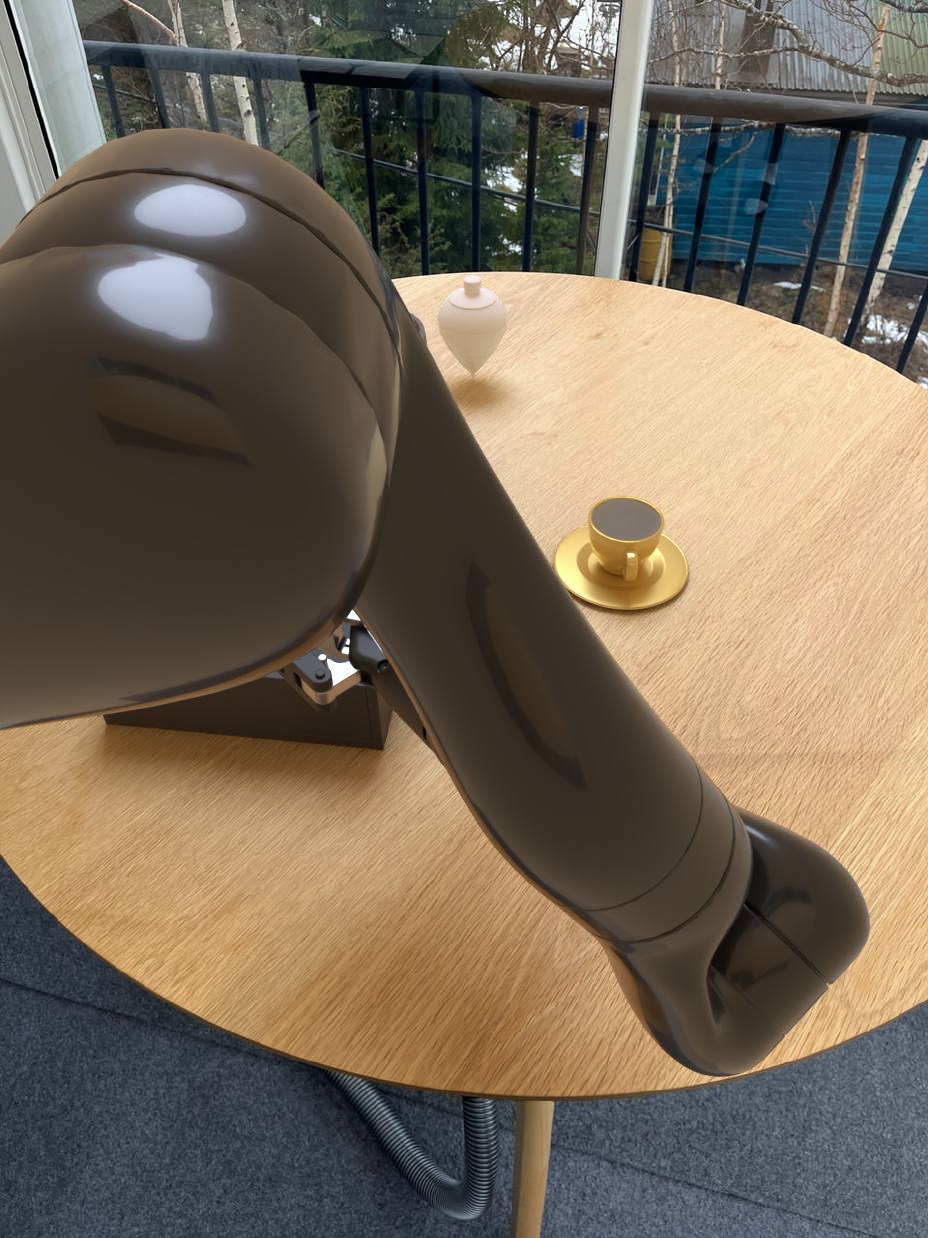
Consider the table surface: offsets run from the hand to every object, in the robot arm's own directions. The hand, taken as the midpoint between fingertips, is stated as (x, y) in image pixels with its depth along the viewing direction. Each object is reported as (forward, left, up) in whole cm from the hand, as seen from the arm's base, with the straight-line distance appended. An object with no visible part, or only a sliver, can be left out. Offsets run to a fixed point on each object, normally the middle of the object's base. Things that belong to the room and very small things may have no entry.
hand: (325, 549), depth 58 cm
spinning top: (+3, +53, -19) cm, 56 cm away
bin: (-8, +10, -18) cm, 22 cm away
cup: (+20, +22, -19) cm, 35 cm away
